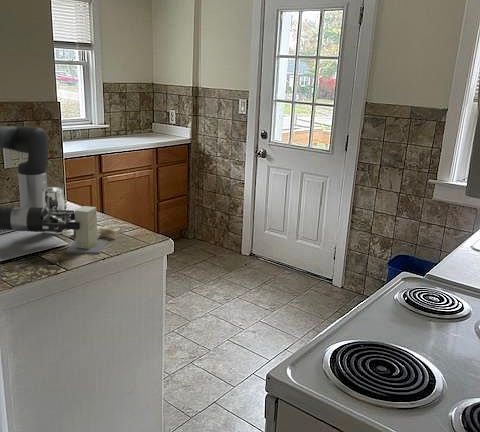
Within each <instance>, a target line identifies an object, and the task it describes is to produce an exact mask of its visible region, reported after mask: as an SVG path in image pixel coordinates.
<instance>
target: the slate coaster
mask: <svg viewBox="0 0 480 432" xmlns="http://www.w3.org/2000/svg"><path fill="white" fill-rule="evenodd" d="M106 244H107V240H98V239H97V244H95V245H94V246H92V247H91V248H89V249H83V248H77V247H76V238H75V239H74V241H73V242H72V243H71V244H70V246H69V247H68V249H66V253H69V254H93V255H94V254H96V255H100V254H101V253H102V251H103V250H104V248H105V247H106Z"/></svg>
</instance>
